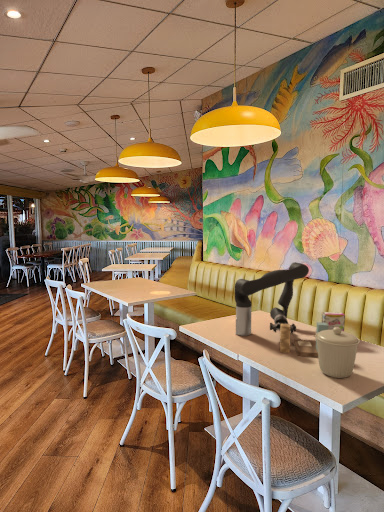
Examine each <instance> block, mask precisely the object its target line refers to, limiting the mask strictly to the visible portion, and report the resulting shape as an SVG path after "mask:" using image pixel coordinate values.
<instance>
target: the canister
mask: <svg viewBox="0 0 384 512" xmlns="http://www.w3.org/2000/svg"><path fill="white" fill-rule="evenodd" d="M314 337H315V339H316V338H317V348H318V357H317V358H318V365H319V369H320V371H321V372H322V373H323V374H324V375H327V376H328V377H332V378H336V379H345V378H348V377H350V376H351V375H352V373H353V371H354V367H355V362H356V355H357V351H358V345H359V344H360V342H361V340H360V339H359V337H357V336H355V335H354V334H353V333H350V332H347V331H345V330H344V331H342V330H341V328H339V327H335V328H333V330H323V331H320V332H318V333H316V332H315V335H314Z"/></svg>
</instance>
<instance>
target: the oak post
mask: <svg viewBox="0 0 384 512" xmlns="http://www.w3.org/2000/svg"><path fill="white" fill-rule="evenodd" d="M290 325H291V324H290V323H288V324H281V325H280V330H279V331H280V332H279V352H280V353H285V354H287V353H288V354H290V352H291V350H290V349H291V332H290Z"/></svg>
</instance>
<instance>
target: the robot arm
mask: <svg viewBox="0 0 384 512" xmlns="http://www.w3.org/2000/svg"><path fill="white" fill-rule="evenodd" d="M309 272H310V269H309V266H308V265H306V264H304V263H300V262H297V261H296V262H292V263H291V264H290V265H289V267H288V269H275V270H272V271H268V272H266V273H264V274H262V276H261V277H259V278H257V279H253V280H249V279H244V278H239V279H237V280H236V281H235V283H234V301H235V335H237V336H243V337H246V336H251V335H252V307H253V306H252V301H251V299H250V298H249V296H251V295H254V294H255V293H258V292H261V291H262V290H267V289H269V288H272V287H276V286H279V285H281V284H284V286H283V289H282V292H281V293H280V297H279V299H278V301H277V304H278V305H280V307H282V309H280V308H279V307H273V308H272V309H271V310H270V312H269V313H270V315H269V316H270V318H271V319H272V320H273V322H274V323H273V322H269V331H273V332H274V333H277V331H280V325H281V324H289V322H288V319H287V318H288V311H289V306H290V304H291V301H292V299H293V296H294V287H293V286H294V281H295V280H300V279H304V278H305V277H307V276H308V274H309ZM289 325H290V334H293V333H294V332H297V326H296V324H295V323H291V324H289Z"/></svg>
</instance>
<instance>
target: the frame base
mask: <svg viewBox="0 0 384 512" xmlns="http://www.w3.org/2000/svg"><path fill="white" fill-rule="evenodd" d="M315 329H316V330H315V334H316V333H318V332H320V331H323V330H328V325H327V323H323V322H322V321H321V322H318V321H316V328H315ZM292 341H293V345H294V348H295V351H296V354H297V357H300V356H301V357H311V358H312V357H314V358H318V348H317V338H316V337H315V339H313V340H312V339H296V338H295V339H293V340H292Z"/></svg>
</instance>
